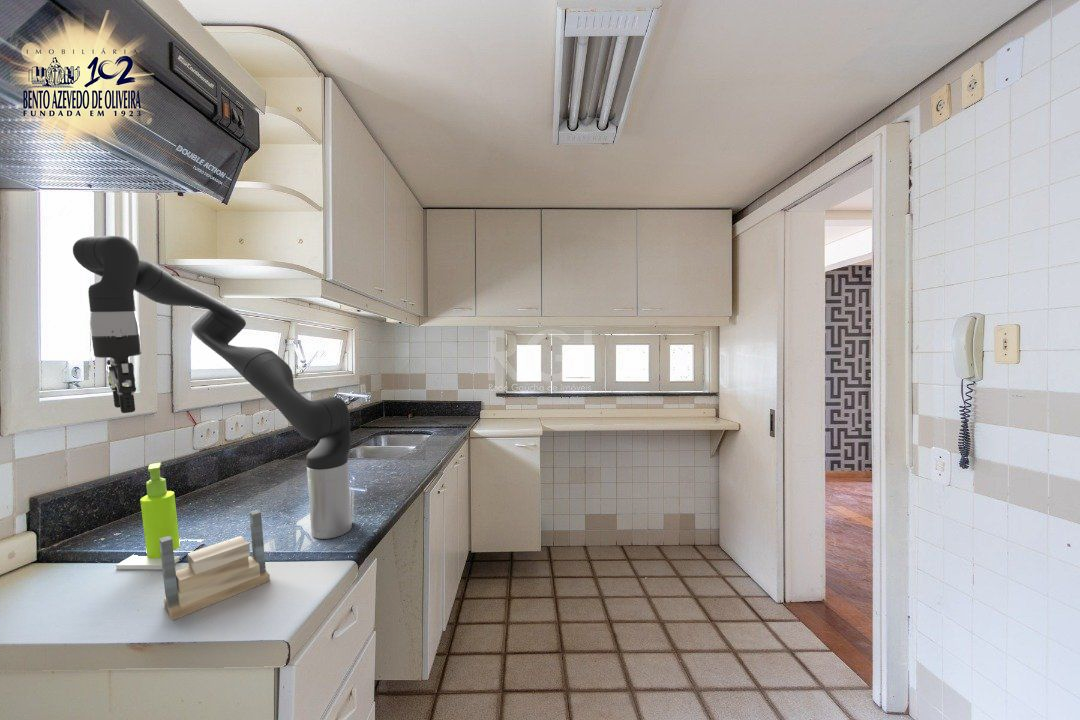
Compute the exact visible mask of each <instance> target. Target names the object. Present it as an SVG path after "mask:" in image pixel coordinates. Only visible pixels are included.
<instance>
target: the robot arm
mask: <svg viewBox="0 0 1080 720" xmlns="http://www.w3.org/2000/svg"><path fill="white" fill-rule="evenodd" d="M72 254H73V257H74V258H75V260H76V262H78V263H79V265H80V266H81V267H83V268H84V269H86V270H87V271H89V272H91V273H93V274H95V275H97V276H99V277H101V279H100V281H98V282H95V283H92V284H90V286H89V287H88V290H87V291H88V303H89V304H88V305H89V311H90V320H89V325H90V333H91V334H90V335H91V341H92V342H91V343H92V349H93V350H92V351H93V356H94V357H95V358H101V359H102V358H103V359H106V358H107V360H106V366H105V370H106V373H107V382H108V385H109V388H110V389H111V391H112V396H113V398H112V399H113V404H114V407H115V408H120V412H121V413H122V414H127V413H134V412H135V411H136V405H135V396H134V394H135V392H137V387H136V379H135V373H134V372H135V367H134V364H133V362H130V361H129V357H133V356H134V357H135V356H140V355H141V354H142V345H141V335H140V326H139V320H138V316H137V311H136V303H135V295H134V291H135V292H137V293H139V294H140V295H142V296H144V297H145V298H147V299H149V301H152V302H155V303H158V304H161V305H165V306H173V307H175V306H177V307H178V306H179V307H181V306H182V307H197V308H202V309H206V310H205V311H204V312H203V313H202V314H201V315H200V316H199V317H198V318H197V319H195V320H194V322H193V323H192V324H191V326H190V330H191V332H192V334H193V335H194V336H195V337H196V338H197V339H198V340H199V341H201V343H202V344H204V345H205V346H207V348H209V349H211V350H212V351H213V352H214V353H215V354H217V355H218V356H220V357H221V358H222V359H224V360H225V361H226V362H227V363H228V364H229V365H231V366H232V368H233V369H234V370H236V371H237V372H238V373H239V374H240V375H241V376H242V377H243V378H244V380H246V381H247V382H248V383H249V384H250V385H251V386H252V387H254V389H256V390H257V391H258V392H259V393H261V394H262V396H264V397H265V398H266V399H267V400H268V401H269V402H270V403H271V404H272V405H273V406H274V407H276V409H277V410H278V411H279V412H280V414H282V415H283V416H284V418H285V420H287V422H288V423H290V425H291V426H292V427H293V428H294V430H295V431H297V433H298V434H299V435H301V436H302V437H303V438H304V439H306V440H310V441H317V440H319V442H318V443H317V444H316V446H315V447H314V448H313V449H311V450H310V451H309V452H308V453H307V455H306V458H305V459H306V461H305V462H306V475H307V476H306V477H307V489H308V490H307V491H308V501H309V502H308V503H309V504H308V505H309V516H310V519H309V520H310V530H311V532H310V533H311V536H312V537H313V538H315V539H322V540H325V539H334V538H337V537H340V536H343V535H345V534H347V533H349V532H350V531H351V530H352V529H353V528H352V527H353V525H352V508H351V507H352V505H351V491H350V473H349V460H348V459H349V453H350V450H351V417H350V410H349V407H348V406H347V404H346V402H345V401H344V400H343V399H342V398H340V397H337V396H330V397H325V398H321V399H315V400H309V399H307V398H305V397H304V396H303V395H302V394H300V393H299V392H298V390H297V389H296V388H295V385H294V374H293V370H292V369H291V367H290V365H289V364H288V363H287V362H285V361H286V360H284V359H282V357H280V356H279V355H278V354H276V353H275V352H274V351H273V350H271V349H268V348H264V347H257V346H237V345H232V344H230V342H231V341H232V340H234V338H236V336H238V334H239V333H240V332H242V330H243V329H244V328H245V327H246V326H247V325H246V324H247V322H246V319H245V318H244V317H243V316H242V315H241V314H240V313H239V312H237V311H236V310H235V309H233V308H232V307H231V306H229V305H227V304H225V303H224V302H223V301H220V300H219V299H216V298H215V297H213V296H211V295H209V294H207V293H205V292H203V291H201V290H198V289H197V288H195V287H193V286H191V285H189V284H186V283H185V282H183V281H181V280H179V279H177V277H174V276H173V275H172V274H170V273H168V271H165V270H164V269H162V268H161V267H159V266H158V265H156V264H155V263H153V262H151V261H149V260H146V259H140V254H139V251H138V249H137V246H136V245H135V244H134V243H133V242H132V241H131V240H130V239H129V238H127V237H125V236H121V235H98V236H97V235H95V236H94V235H93V236H85V237H82V238H80V239H77V240H76V241H75V242H74V244H73V247H72ZM108 358H109V359H108Z"/></svg>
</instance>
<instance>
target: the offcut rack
mask: <svg viewBox="0 0 1080 720" xmlns="http://www.w3.org/2000/svg"><path fill="white" fill-rule="evenodd" d="M248 512H249V524H250V536H251V546H252V548H251V549H250V542H249V541H247V540H246V538H244V536H243V535H239V536H236V537H232V538H230V539H227V540H224V541H221V542H216V543H214V544H211V545H208V546H205V547H202V548H198V549H196V550H195V551H193V552H190V553H188V555H187V562H188V563H187V564H188V566H187V567H184V568H181V569H178V570H176V564H175V561H174V552H173V542H172V538H171V537H170V536H167V537H164V538H160V539H159V541H160V550H161V560H162V569H161V570H162V575H163V577H162V578H163V585H164V594H165V595H164V596H165V598H164V599H163V603H164V608H165V610H166V612H167V613H169V614H168V616H169V617H170V619H171V621H174V620H177V619H179V618H182V617H184V616H187V615H189V614H191V613H195V612H197V611H200V610H201V608H202V609H204V608H206V606H207V607H209V606H211V604H212V605H214V604H217V603H220V602H221V601H224V600H227V599H229V598H230V597H233V596H235V595H239V594H240V593H243V592H246V591H248V590H251V589H254V588H256V587H258V586H261V585H263V584H265V583H269V582H270V581H271V578H270V573H269V572H268V571H267V567H266V558H265V557H266V556H265V555H266V554H265V544H264V533H263V532H264V531H263V521H262V512H261V511H260V510H259V509H255V510H252V511H248ZM250 550H252V556H251V551H250ZM196 610H197V611H196Z"/></svg>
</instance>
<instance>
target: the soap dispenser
mask: <svg viewBox="0 0 1080 720" xmlns="http://www.w3.org/2000/svg"><path fill="white" fill-rule="evenodd" d="M162 463H163V462H162V461H161V462H160V461H159V462H155V463H154V462H153V463H150V464H149V465H148V468H147V472H149V476H150V477H149V478H150V479H149V480H148V481H145V482H146V483H145V486H146V493H147V494H145V495H144V496H142V497H141V498H140V499H139V501H140V509H141V517H142V527H143V535H144V543H145V548H146V553H147V557H148V558H152V559H154V558H161V550H160V541H159V539H160V538H164V537H167V536H170V537H171V538H172V542H173V550H176V549H177V548H179V547H180V541H179V540H180V533H179V526H178V513H177V507H176V495H175V491H172V490H167V480H166V478H164V477H161V470H160V468H161V466H162V465H163V464H162Z"/></svg>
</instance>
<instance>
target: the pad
mask: <svg viewBox="0 0 1080 720" xmlns="http://www.w3.org/2000/svg"><path fill="white" fill-rule="evenodd" d="M185 540H186V541H187V540H188V541H197V542H202V541H204V542H205V539H179V541H185ZM179 558H180V556H174V561H175V565H176V564H178V562H180V561H181V560H179ZM115 566H116V567H115V568H116V570H163V569H162V560H161V558H154V559H152V558H148V557H147V556H138V555H134V554H132V555H131V556H128V557H127V558H125V559H124V560H122V561H120V562H119V563H117V564H116V565H115Z"/></svg>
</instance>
